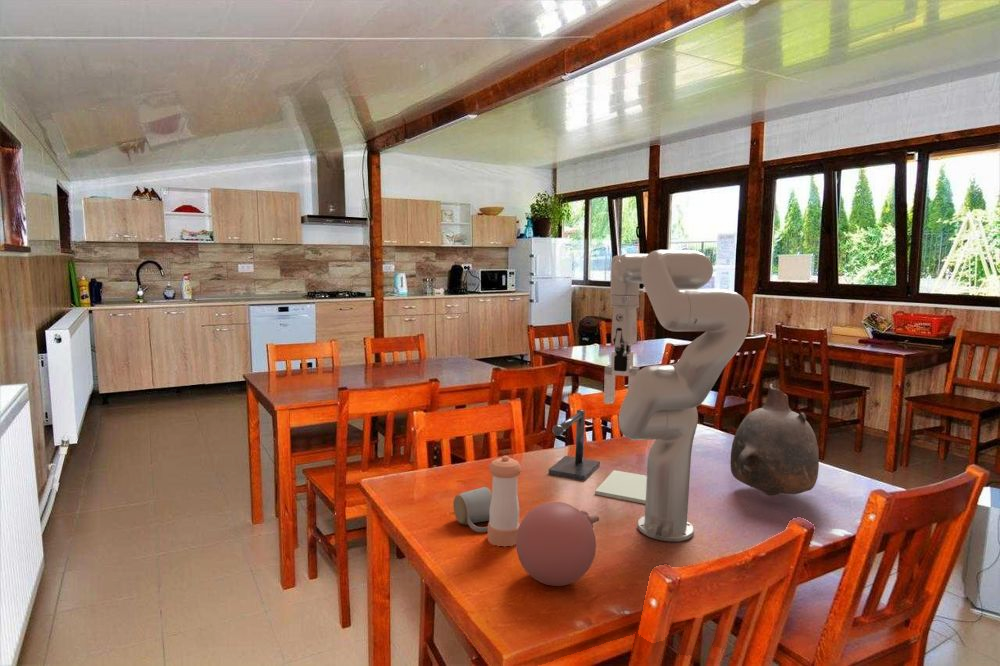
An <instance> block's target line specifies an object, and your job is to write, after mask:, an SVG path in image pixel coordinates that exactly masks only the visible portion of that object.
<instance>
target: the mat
mask: <svg viewBox="0 0 1000 666" xmlns="http://www.w3.org/2000/svg"><path fill="white" fill-rule="evenodd" d="M646 480H647V475H644V474H638V473H634V472H626V471H622V470H615V469H614V470H613V471H611V473H610V474H609V475H608V476H607V477H606V478H605V479H604V481H602V483H601V484H600V485H599V486H598V487H597V489H596V490H594V493H595V494H594V495H598V496H600V497H601V496H602V497H607V498H613V499H617V500H622V499H623V500H622V501H627V500H628V502H633V503H637V504H643V505H645V501H646Z"/></svg>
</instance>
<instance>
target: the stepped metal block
mask: <svg viewBox="0 0 1000 666" xmlns="http://www.w3.org/2000/svg"><path fill="white" fill-rule="evenodd" d="M614 356H615V350H614V351H612V352H611V359H610V360H611V363H610V364H608V365H605V366H604V377H603V378H604V380H603V381H604V383H603V384H604V385H603V388H604V389H603V404H606V405H607V404H608V405H612V404H613V403H615V401H616V376H623V377H628V380H627V381H628V383H627V385H628V388H627V391H628V390H629V387H630V385H631V383H632V381H633V379H634V377H635V375H636V373H637V372H638V371H639V370H640V367H639V366H634V351H631V352H626V356H627V366H626V371H625V372H624V371H615V370H614Z"/></svg>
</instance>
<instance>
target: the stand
mask: <svg viewBox="0 0 1000 666" xmlns="http://www.w3.org/2000/svg"><path fill="white" fill-rule="evenodd" d="M585 415H586V410H585V409H577V410H576V413H575V414H573V415H572V416H570V417H568V418H567V419H566V420H564V421H562V422H561V423H560V424H555V425H553V427H552V433H553V434H554V436H557V437H559V436H562V435H563V434H564V431H565V430H567V429H569V428H570V427H571V426H572V425H574V424H576V425H575V426H576V427H575V429H576V431H575V453H574V454H575V455H574V456H569V455H564V456H563V457H562V458H560V460H559V461H557V462H556V463H555V464H553V465H552V466H551V467H549V469H548V476H549V475H550V476H556V477H561V478H566V479H571V480H577V481H581V482H586V480H588V479H589V477H590V476H592V474H593V473H595V472H596V471H597V470H598V468H600V467H601V462H600V461H599V460H593V459H587V458H584V448H585V446H584V445H585V424H586V423H585V420H586V419H585V418H586V416H585Z"/></svg>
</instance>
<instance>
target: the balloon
mask: <svg viewBox="0 0 1000 666" xmlns="http://www.w3.org/2000/svg"><path fill="white" fill-rule="evenodd" d="M599 521H600V517H599V516H598V515H589V513H588V512H587V511H586V510H583V509H582V510H579V509H578V508H576V507H575V506H573V505H571V504H568V503H565V502H560V501H548V502H544V503H541V504H539V505H537V506H535V507H534V508H532V509H531V510H529V511H528V512H527V513H526V514H525V516H524V517H523V519H522V520H521V522H520V526H519V528H518V532H517V536H516V545H515V549H516V553H517V554H516V555H517V558H518V559H519V562H520V564H521V566H522V568H523V569H524V570H525V571H526V573H527V574H528V575H529V576H530V577H532V578H533V579H534V580H535V581H538V582H539V583H540V584H541V583H542V584H544V585H547V586H551V587H553V586H554V587H561V586H563V587H564V586H567V585H570V584H573V583H575V582H577V581H578V580H581V579H582V577H584V576H585V575H586V573H587V572H588V571H589V569H590V568H591V566H592V565H593V562H594V559H595V555H596V551H597V550H596V549H597V540H596V534H595V531H594V524H595V523H596V522H597V523H598V522H599Z"/></svg>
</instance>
